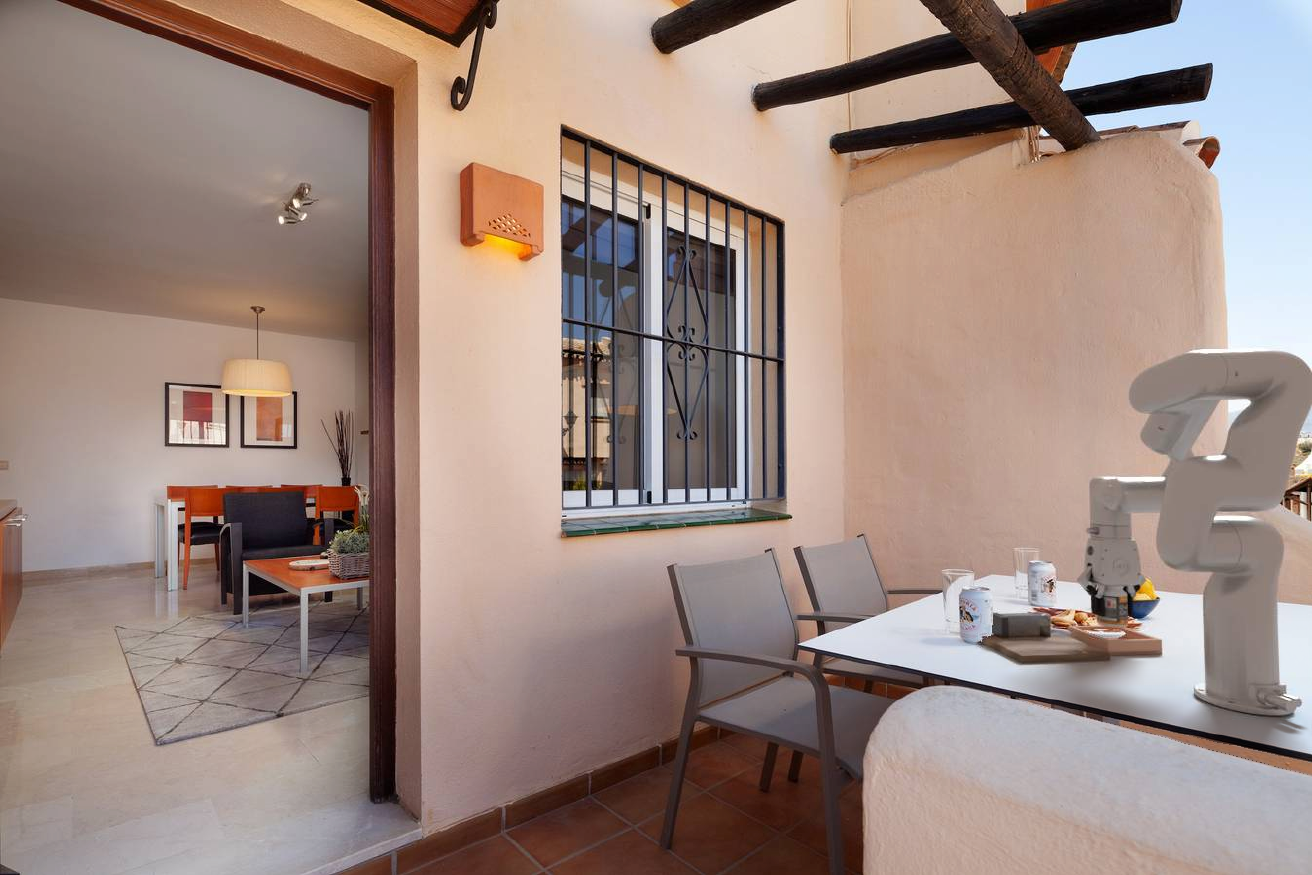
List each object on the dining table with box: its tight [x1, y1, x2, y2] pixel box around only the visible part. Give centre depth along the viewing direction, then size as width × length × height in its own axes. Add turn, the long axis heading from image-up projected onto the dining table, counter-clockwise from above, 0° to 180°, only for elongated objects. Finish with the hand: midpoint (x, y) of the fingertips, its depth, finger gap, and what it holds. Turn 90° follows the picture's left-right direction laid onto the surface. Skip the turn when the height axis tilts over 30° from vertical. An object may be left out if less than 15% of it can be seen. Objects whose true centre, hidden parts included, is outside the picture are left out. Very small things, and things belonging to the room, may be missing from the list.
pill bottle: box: [1095, 586, 1129, 628], centre depth 143 cm, size 6×6×10 cm
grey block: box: [991, 611, 1052, 638], centre depth 147 cm, size 13×4×4 cm, turn 94°
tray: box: [1067, 624, 1163, 657], centre depth 143 cm, size 12×12×3 cm
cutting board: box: [981, 632, 1111, 664], centre depth 140 cm, size 16×19×2 cm
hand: (1112, 613), depth 143 cm, fingers closed on pill bottle, 5 cm apart
